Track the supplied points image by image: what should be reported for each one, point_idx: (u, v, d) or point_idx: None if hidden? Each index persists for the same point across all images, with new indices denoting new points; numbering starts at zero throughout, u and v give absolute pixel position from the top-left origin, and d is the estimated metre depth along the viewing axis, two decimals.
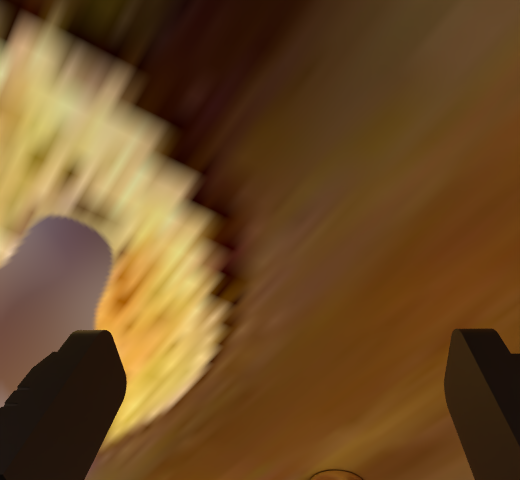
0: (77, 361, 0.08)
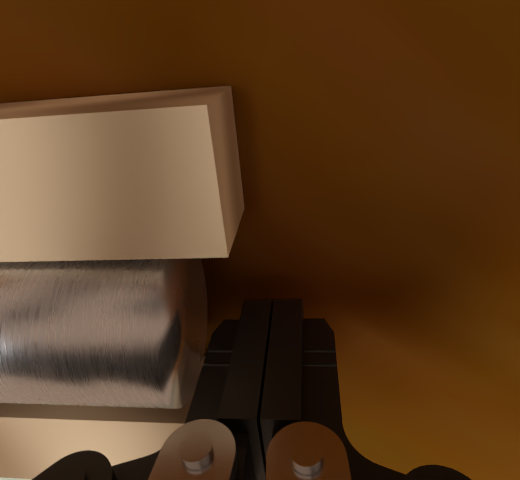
0: (266, 325, 0.09)
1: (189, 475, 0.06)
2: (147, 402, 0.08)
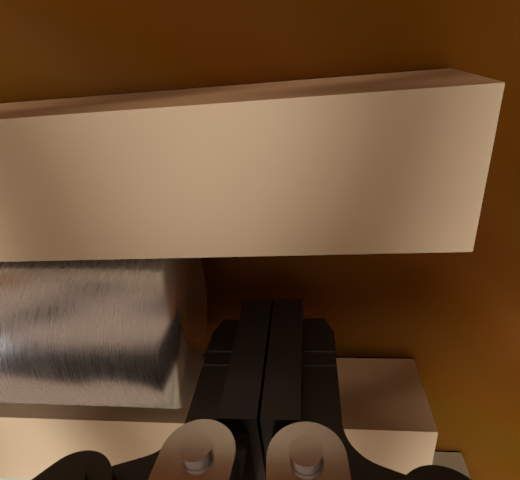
0: (266, 325, 0.09)
1: (189, 475, 0.06)
2: (147, 402, 0.08)
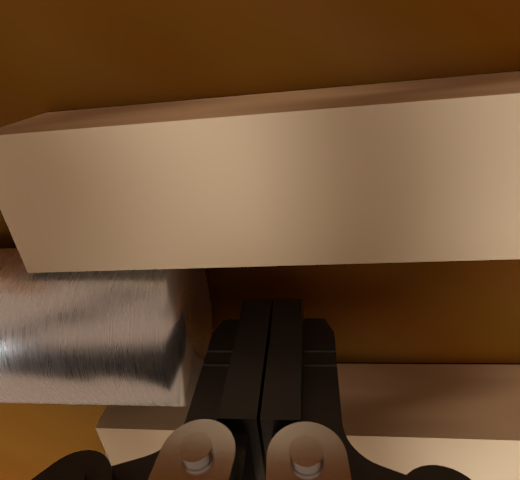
0: (266, 325, 0.09)
1: (189, 475, 0.06)
2: (155, 401, 0.09)
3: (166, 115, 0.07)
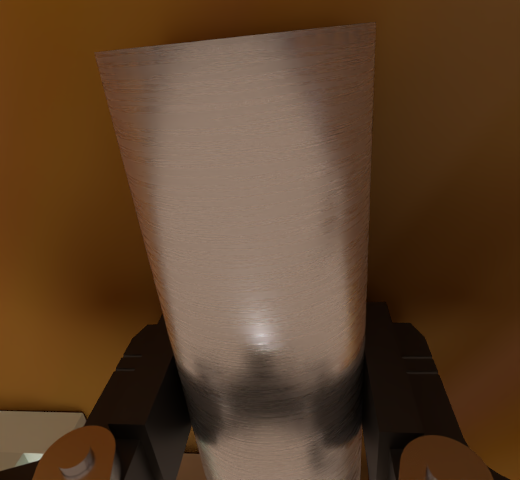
0: None
1: None
2: None
3: None
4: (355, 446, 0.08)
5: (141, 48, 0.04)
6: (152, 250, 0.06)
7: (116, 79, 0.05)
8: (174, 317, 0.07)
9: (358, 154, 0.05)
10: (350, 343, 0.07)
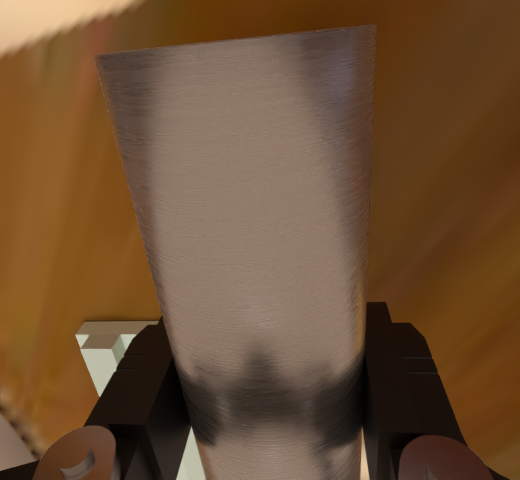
0: None
1: None
2: None
3: None
4: (355, 449, 0.08)
5: (139, 52, 0.04)
6: (151, 253, 0.06)
7: (115, 82, 0.05)
8: (173, 320, 0.07)
9: (358, 157, 0.05)
10: (350, 346, 0.07)
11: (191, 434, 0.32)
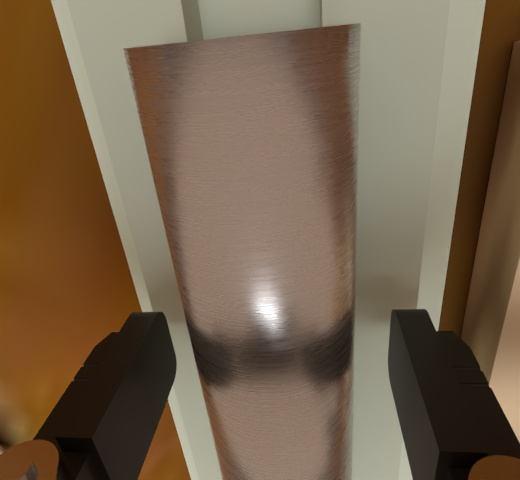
0: (141, 339, 0.09)
1: None
2: None
3: None
4: (343, 407, 0.09)
5: (156, 45, 0.05)
6: (165, 216, 0.07)
7: (138, 70, 0.06)
8: (182, 275, 0.08)
9: (340, 137, 0.06)
10: (335, 308, 0.08)
11: (378, 332, 0.11)
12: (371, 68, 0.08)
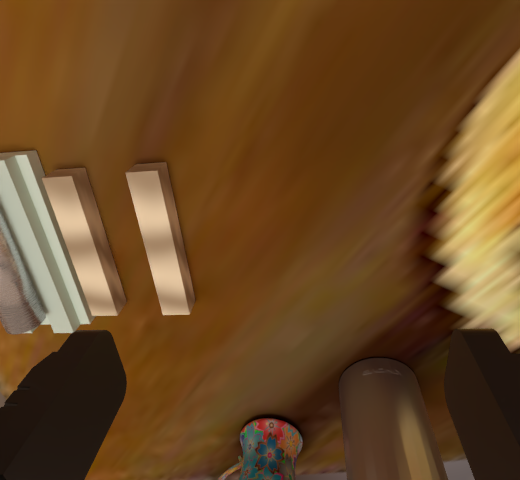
0: (77, 361, 0.08)
1: None
2: None
3: (168, 206, 0.37)
4: (6, 261, 0.38)
5: None
6: None
7: None
8: None
9: None
10: None
11: (30, 249, 0.40)
12: None
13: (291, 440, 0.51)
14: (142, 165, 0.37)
